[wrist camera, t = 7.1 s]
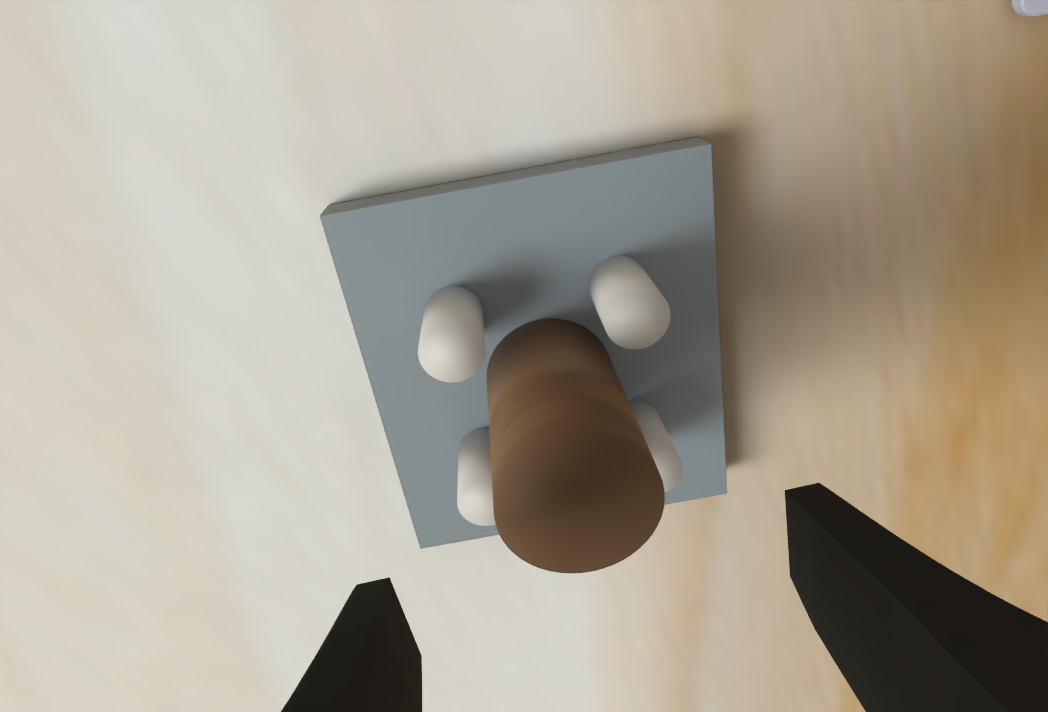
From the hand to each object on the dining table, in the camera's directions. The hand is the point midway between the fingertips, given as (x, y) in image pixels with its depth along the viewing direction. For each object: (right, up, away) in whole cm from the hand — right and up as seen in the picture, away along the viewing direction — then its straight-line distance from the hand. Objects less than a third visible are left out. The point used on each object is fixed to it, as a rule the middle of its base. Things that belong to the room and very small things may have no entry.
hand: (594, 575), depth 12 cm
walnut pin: (-1, +3, +7) cm, 8 cm away
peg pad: (-1, +4, +8) cm, 9 cm away
